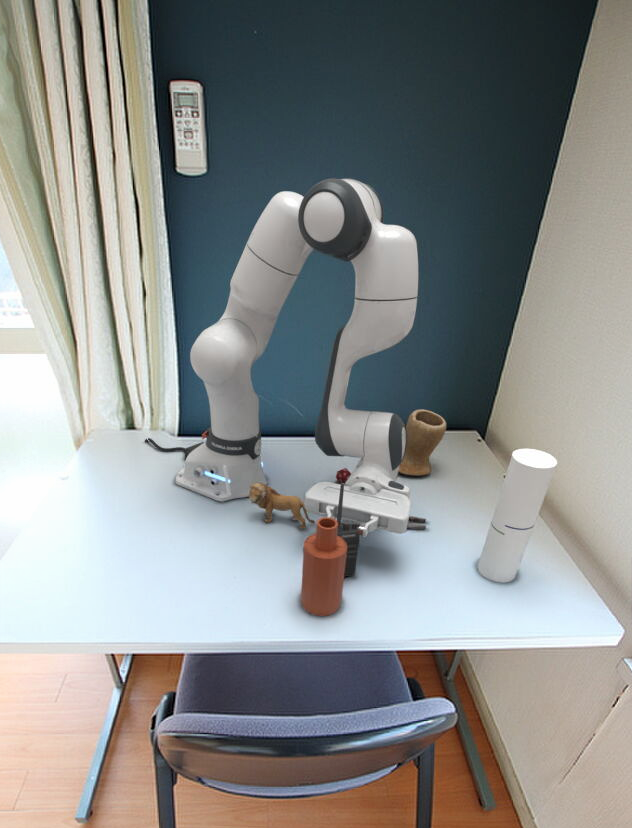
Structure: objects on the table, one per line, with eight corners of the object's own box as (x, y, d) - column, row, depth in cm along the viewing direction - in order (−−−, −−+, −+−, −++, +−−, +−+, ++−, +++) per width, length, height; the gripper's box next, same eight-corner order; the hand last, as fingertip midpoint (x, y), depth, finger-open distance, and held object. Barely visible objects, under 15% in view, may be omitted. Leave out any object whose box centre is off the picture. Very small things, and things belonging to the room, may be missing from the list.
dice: (354, 485, 127) (356, 471, 125) (338, 488, 126) (339, 474, 124) (347, 478, 130) (349, 464, 128) (331, 481, 129) (333, 467, 127)
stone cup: (441, 479, 131) (453, 425, 122) (394, 478, 131) (403, 424, 122) (427, 452, 143) (438, 401, 134) (385, 451, 143) (393, 400, 134)
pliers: (334, 500, 120) (419, 502, 120) (333, 503, 120) (419, 505, 120) (337, 524, 112) (428, 526, 112) (336, 527, 112) (427, 529, 112)
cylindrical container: (511, 587, 97) (553, 472, 83) (473, 573, 100) (508, 460, 86) (518, 567, 102) (560, 455, 88) (482, 554, 105) (517, 445, 91)
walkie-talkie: (332, 579, 98) (341, 490, 86) (327, 568, 100) (335, 480, 89) (356, 576, 99) (368, 487, 87) (351, 565, 101) (361, 477, 90)
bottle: (295, 609, 91) (298, 529, 81) (309, 584, 97) (314, 506, 87) (333, 620, 89) (341, 540, 79) (345, 594, 95) (354, 516, 85)
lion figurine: (246, 524, 113) (245, 489, 108) (251, 511, 117) (251, 476, 112) (313, 531, 111) (315, 495, 106) (315, 517, 115) (318, 483, 110)
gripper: (317, 468, 104) (292, 501, 94) (418, 489, 98) (403, 527, 88) (316, 494, 108) (291, 529, 97) (412, 516, 102) (397, 556, 91)
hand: (345, 528), depth 92 cm, fingers closed on walkie-talkie, 5 cm apart
